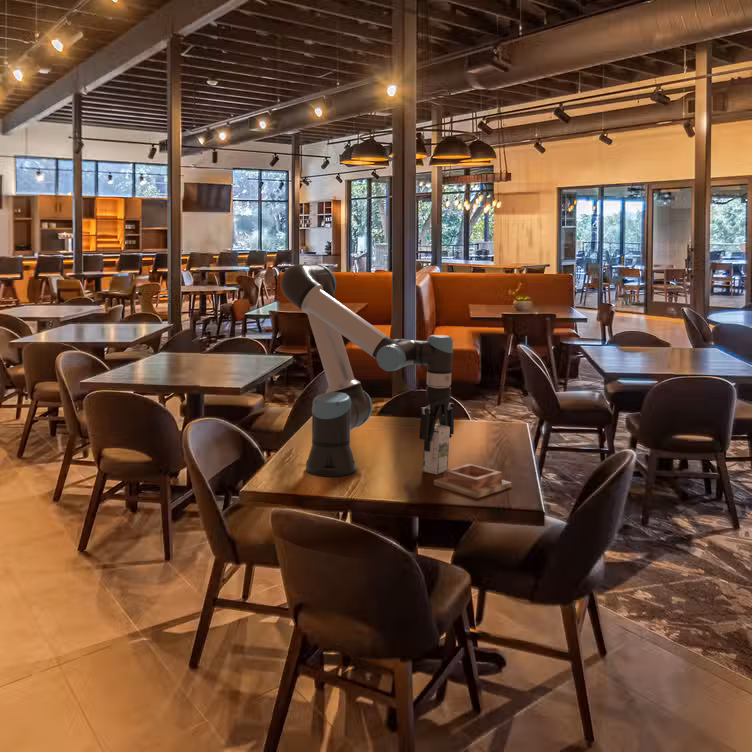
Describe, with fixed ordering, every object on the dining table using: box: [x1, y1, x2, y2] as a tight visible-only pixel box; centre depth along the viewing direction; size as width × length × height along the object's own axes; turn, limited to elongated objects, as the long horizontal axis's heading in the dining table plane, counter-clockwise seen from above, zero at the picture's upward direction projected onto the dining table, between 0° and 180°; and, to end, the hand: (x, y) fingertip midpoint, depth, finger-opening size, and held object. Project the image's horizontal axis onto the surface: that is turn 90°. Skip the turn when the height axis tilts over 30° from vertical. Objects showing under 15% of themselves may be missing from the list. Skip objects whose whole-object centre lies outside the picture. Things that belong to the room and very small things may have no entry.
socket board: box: [433, 463, 512, 499], centre depth 233 cm, size 16×16×4 cm
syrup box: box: [422, 423, 450, 475], centre depth 246 cm, size 6×6×14 cm
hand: (435, 459), depth 247 cm, fingers closed on syrup box, 6 cm apart
